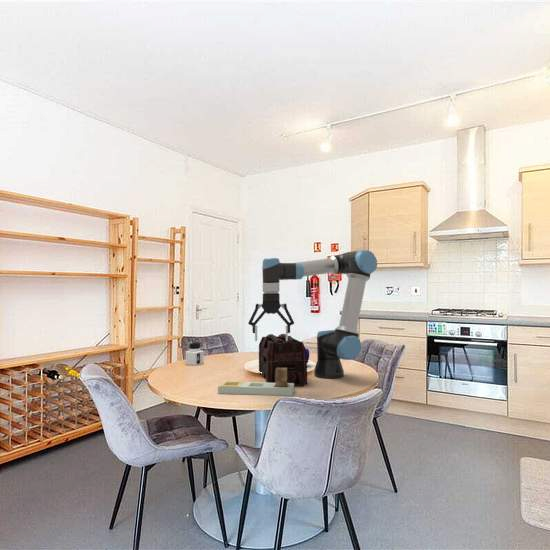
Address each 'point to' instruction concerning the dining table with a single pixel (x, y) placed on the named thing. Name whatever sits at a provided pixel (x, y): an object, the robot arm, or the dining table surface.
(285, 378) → the walnut block
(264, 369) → the crate
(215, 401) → the dining table surface
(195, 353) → the container
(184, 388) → the dining table surface
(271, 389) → the sorting tray
